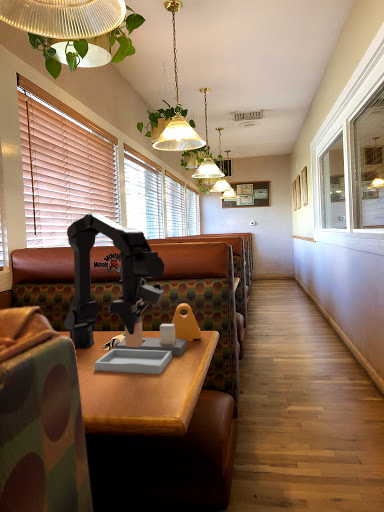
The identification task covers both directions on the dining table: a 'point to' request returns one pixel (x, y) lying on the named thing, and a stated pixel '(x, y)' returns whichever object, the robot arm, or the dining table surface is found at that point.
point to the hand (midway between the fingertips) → (133, 332)
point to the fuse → (167, 334)
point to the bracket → (185, 324)
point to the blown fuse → (135, 334)
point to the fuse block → (158, 346)
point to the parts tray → (134, 361)
